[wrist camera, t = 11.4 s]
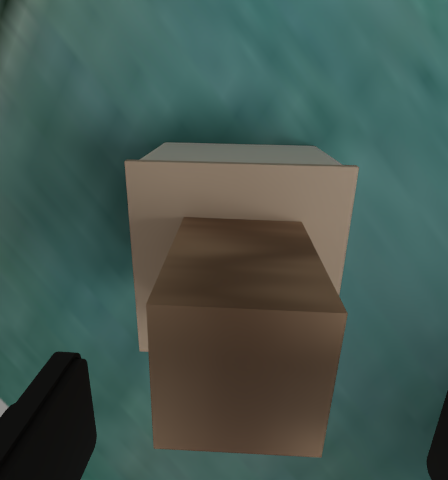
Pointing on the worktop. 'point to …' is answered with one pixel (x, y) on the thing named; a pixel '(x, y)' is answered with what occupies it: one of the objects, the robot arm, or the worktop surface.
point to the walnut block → (243, 340)
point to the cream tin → (234, 200)
